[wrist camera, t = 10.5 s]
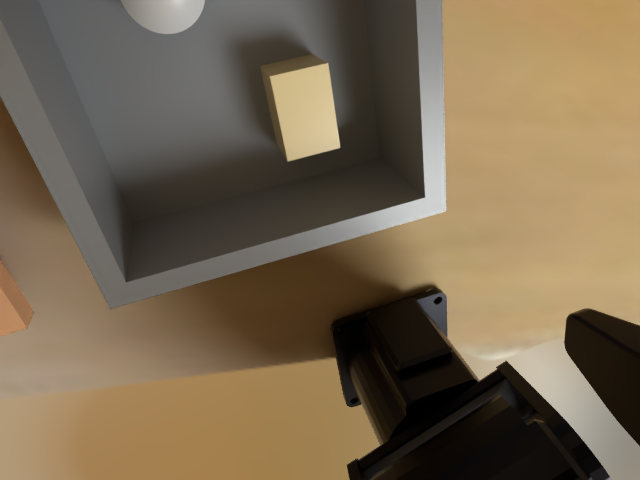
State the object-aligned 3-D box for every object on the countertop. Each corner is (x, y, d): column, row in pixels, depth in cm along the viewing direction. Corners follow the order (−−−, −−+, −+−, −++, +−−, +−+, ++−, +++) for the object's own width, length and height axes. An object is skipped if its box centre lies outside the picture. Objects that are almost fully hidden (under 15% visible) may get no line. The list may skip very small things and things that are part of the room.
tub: (391, 164, 21) (446, 211, 17) (122, 236, 20) (110, 309, 15) (362, -183, 15) (437, -243, 11) (-40, -124, 13) (-136, -167, 9)
